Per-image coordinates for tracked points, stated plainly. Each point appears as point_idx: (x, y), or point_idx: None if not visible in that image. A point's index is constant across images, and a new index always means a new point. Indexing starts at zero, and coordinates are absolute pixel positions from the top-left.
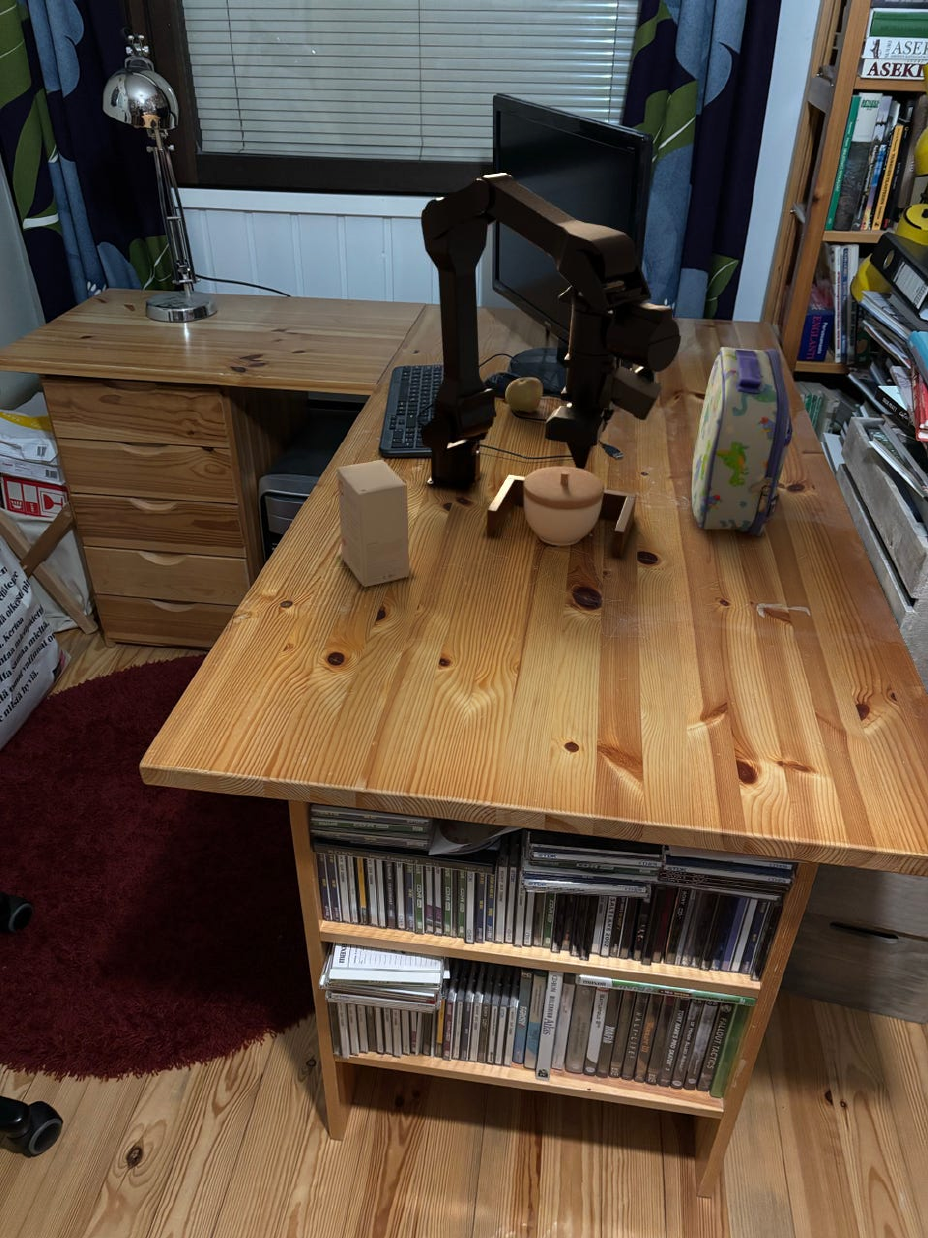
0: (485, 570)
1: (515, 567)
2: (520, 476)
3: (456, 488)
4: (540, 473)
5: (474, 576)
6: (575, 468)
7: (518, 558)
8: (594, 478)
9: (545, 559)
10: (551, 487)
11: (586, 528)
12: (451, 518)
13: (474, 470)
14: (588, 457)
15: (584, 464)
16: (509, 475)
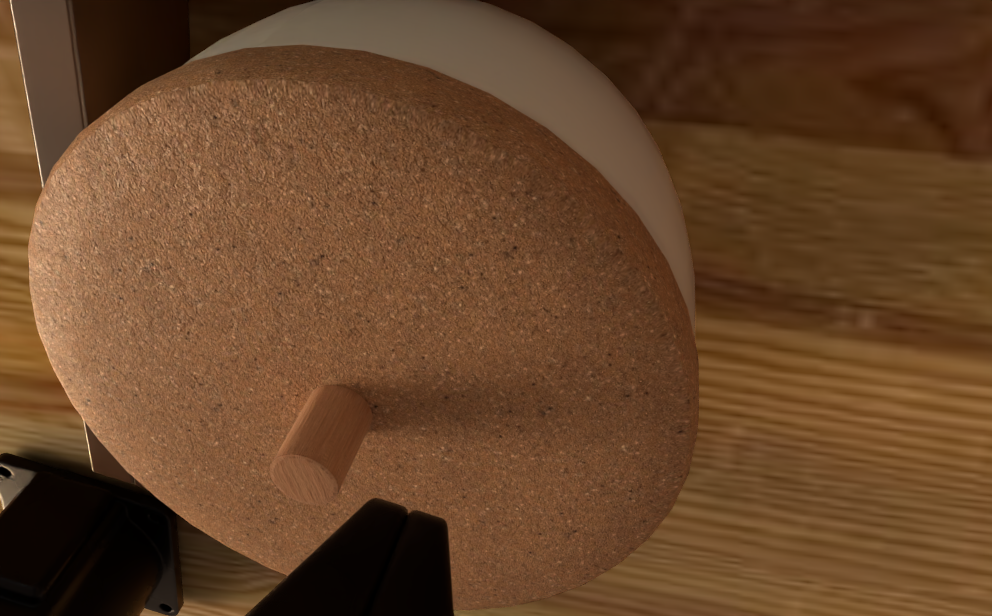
0: (862, 516)
1: (844, 405)
2: (85, 427)
3: (175, 542)
4: (240, 519)
5: (914, 557)
6: (45, 292)
7: (749, 384)
8: (167, 163)
9: (764, 263)
10: (448, 497)
11: (623, 99)
12: None
13: (75, 543)
14: (344, 593)
15: (447, 579)
16: (99, 470)
